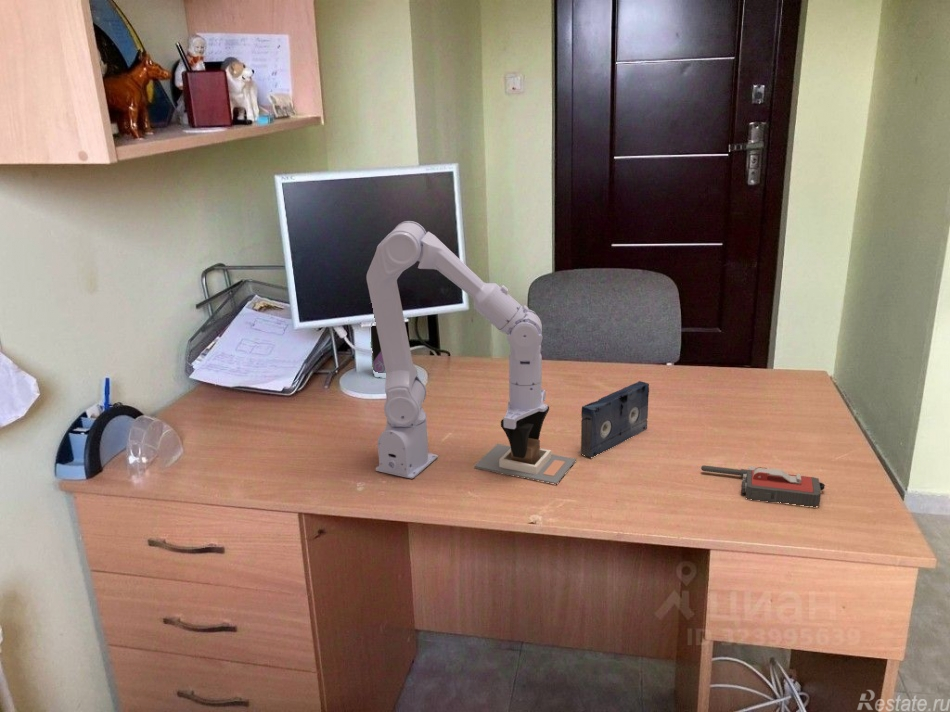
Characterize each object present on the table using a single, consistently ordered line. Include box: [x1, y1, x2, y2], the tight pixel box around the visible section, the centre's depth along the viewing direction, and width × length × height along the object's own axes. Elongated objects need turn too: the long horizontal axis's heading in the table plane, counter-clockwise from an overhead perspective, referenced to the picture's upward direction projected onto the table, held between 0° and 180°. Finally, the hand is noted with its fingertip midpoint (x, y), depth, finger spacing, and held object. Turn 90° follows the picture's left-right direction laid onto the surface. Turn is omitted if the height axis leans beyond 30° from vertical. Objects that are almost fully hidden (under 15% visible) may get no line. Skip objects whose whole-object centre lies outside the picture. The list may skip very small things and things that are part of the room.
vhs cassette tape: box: [580, 380, 650, 459], centre depth 150 cm, size 18×3×10 cm, turn 132°
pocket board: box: [473, 443, 577, 484], centre depth 142 cm, size 10×16×2 cm, turn 63°
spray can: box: [370, 326, 386, 373], centre depth 186 cm, size 6×6×20 cm
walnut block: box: [511, 438, 541, 465], centre depth 142 cm, size 4×4×4 cm
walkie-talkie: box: [700, 465, 826, 507], centre depth 132 cm, size 9×4×20 cm
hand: (525, 449), depth 142 cm, fingers open, 5 cm apart
